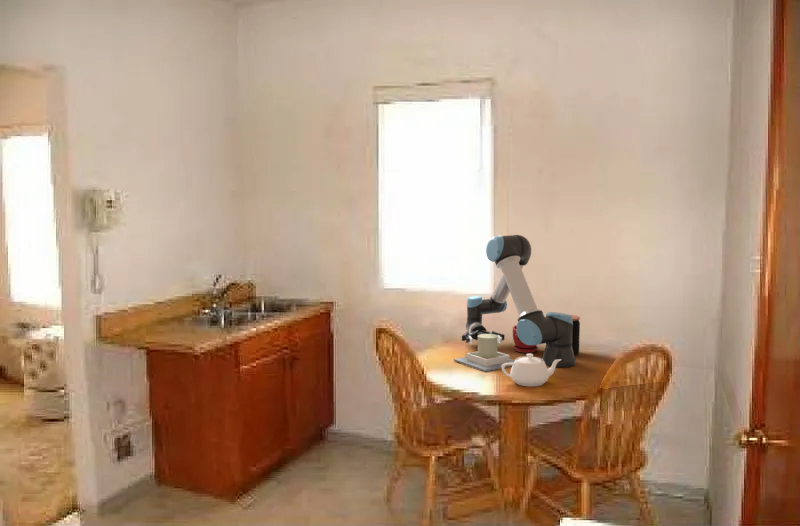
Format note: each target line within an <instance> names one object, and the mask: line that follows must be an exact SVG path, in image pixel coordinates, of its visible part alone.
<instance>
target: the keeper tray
mask: <svg viewBox="0 0 800 526" xmlns="http://www.w3.org/2000/svg"><path fill="white" fill-rule="evenodd" d="M515 360H516V359H513V358H511V355H510V354H507V353H503V352H501V351H497V357H494V358H489V359H485V358H482V357H479V356H478V350H477V351H472V352H466V353H465V356H463V357H459V358H454V359H453V362H454V361H455V363H457V362H459V363H458V364H460V363H462V364H461V365H463V364H464V366H466V365H467V367H469V366H470V367H469V368H472V367H473V368H472V369H475V368H476V369H475V370H478V369H479V370H478V371H481V370H482V371H481V372H483V371H484V373H487V372H486V371H488V372H491V370H493V371H496V370H495V369H498V370H501V369H500V368H501V366H502V364H504V363H513V362H514V361H515ZM510 366H513V365H506V366H505V367H507V368H511V367H510ZM505 367H504V369H506V368H505Z"/></svg>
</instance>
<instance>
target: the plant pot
mask: <svg viewBox="0 0 800 526" xmlns="http://www.w3.org/2000/svg"><path fill="white" fill-rule="evenodd" d="M516 326H517V324H516V325H514V326H513V327H512V339H513V343H514V346H513V349H514V350H515V351H516V352H519V353H523V354H533V353H535V352H537V351H538V349H539V347H538V345H526V344H524V343H523V342H522V341H521V340H520V339H519V337H518V335H517V332H516V329H517V328H516Z"/></svg>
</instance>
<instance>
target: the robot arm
mask: <svg viewBox="0 0 800 526" xmlns="http://www.w3.org/2000/svg"><path fill="white" fill-rule="evenodd" d="M485 253H486V257H487V259H488V260H489V261H491V262H494V263H495V265H496V268H497V269H499V270H501V272H502V273H501V275H500V278H499V279H498V281H497V284H496V286H495V287H494V290H493V292H492V293H491V294H492V295H491V296H490V298H486V299H485V298H484V299H483V298H482V296H481V295H474V296H473V295H471V296H468V298H467V300H466V311H467V313H466V315H467V316H466V322H465V328H466V329H465V330H466V332H465V333H464V334H462V335H461V341H462V342H465V343H467V344H468V343H469V344H470V345H472V346H473V344H474V343H473V342H474V341H473V340H475V341H477V342H478V335H480V334H494V335H497V336H498V337H497V343H499V345H502V344H503V341H505V334H503V333H500V332H496V331H494V330H491V331H488V330H487V328H486V327H485V326H484V325H483V315H489V314H500V313H502V312H503V313H504V312H505V311H507V308H508V302H507V299H508V297H509V294H510V295H511V297H512V300H513V303H514V306H515V308H516V310H517V312H518V318H517V324H516V325H517V326H516V325H515V326H516V328H517V329H516V332H517V335H518V337H519V339H520V340H521V341H522V342H523V343H524V344H526V345H537V346H538V345H542V344H545V347H544V350H543V354H542V356H541V359H543V360H544V362H545V364H546V366H548V367H551V366H552V364H553V362H554V361H555V360H557V359H562V360H561V361H559V362H558V363H557V365H556V368H569V367H571V368H572V367H574V366H576V364H577V363H576V362H577V361H576V357H575V355H574V353H573V349H572V332H573V321H572V316H571V315H572V314H568V313H564V312H563V313H562V312H555V311H554V312H553V311H547V312H546V314H545V315H544V312H543V310H541V309H539V308H538V307H537V304H536V302H535V299H534V297H533V294H532V292H531V290H530V287H529V285H528V282H527V279H526V277H525V274H524V273H523V268H524V266H526V265H528V263H529V261H530V258H531V255H532V246H531V243H530V241H529V240H528V238H526V237H525V236H523V235H520V234H514V235H513V234H511V235H495V236H492V237H491V238H489V240H488V241H487V243H486V248H485Z"/></svg>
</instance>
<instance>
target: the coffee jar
mask: <svg viewBox="0 0 800 526" xmlns="http://www.w3.org/2000/svg"><path fill="white" fill-rule="evenodd" d="M570 315H571V316H572V321H573V332H572V349H573V353H574V356H577V355H578V354H579V353H580V331H581V330H580V329H581V328H580V326H581V322H580V320H581V319H580V318H581V317H580V316H578V315H574V314H570Z"/></svg>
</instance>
